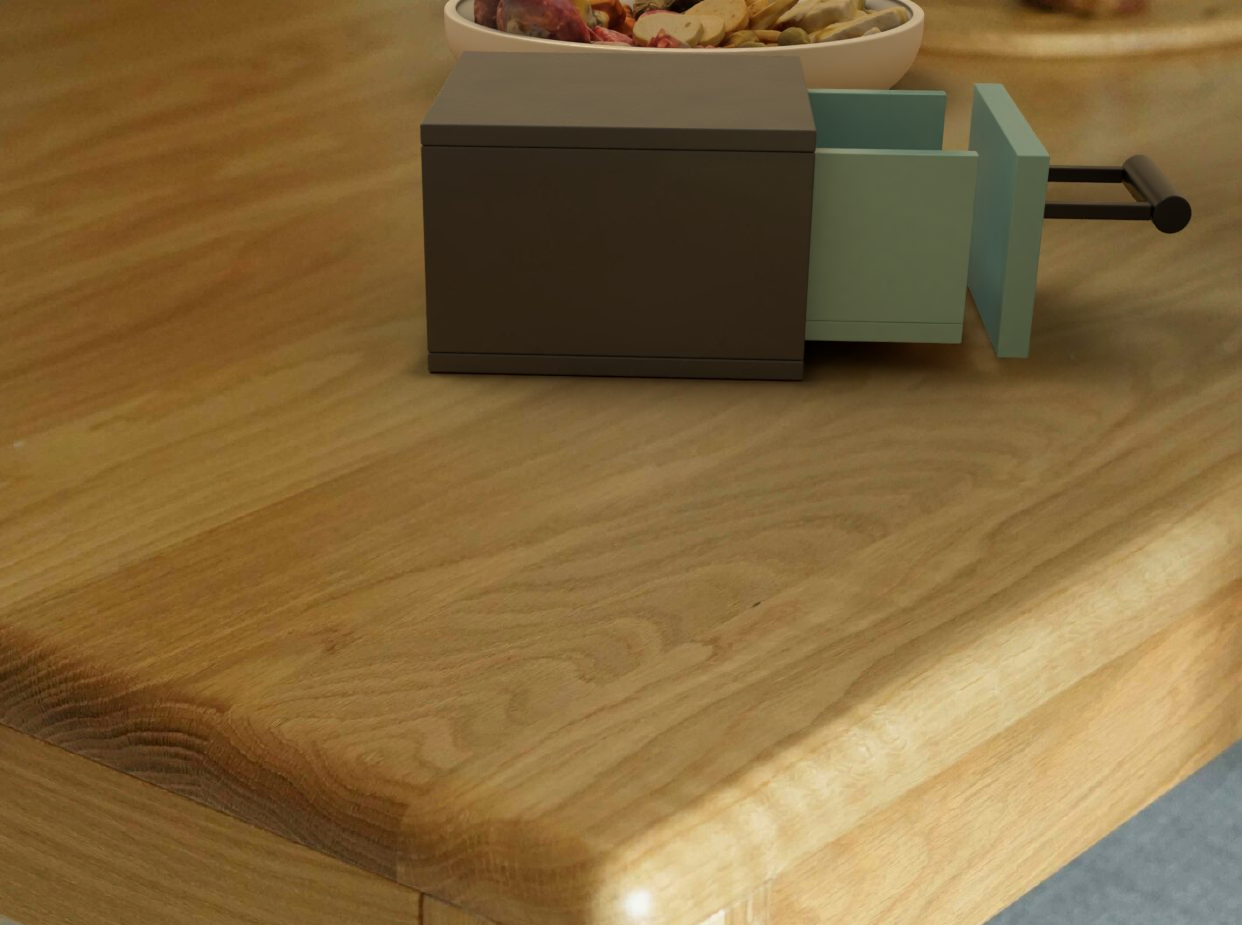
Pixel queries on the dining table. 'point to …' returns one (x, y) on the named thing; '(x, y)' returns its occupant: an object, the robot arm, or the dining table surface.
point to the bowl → (706, 32)
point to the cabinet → (618, 215)
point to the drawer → (944, 216)
